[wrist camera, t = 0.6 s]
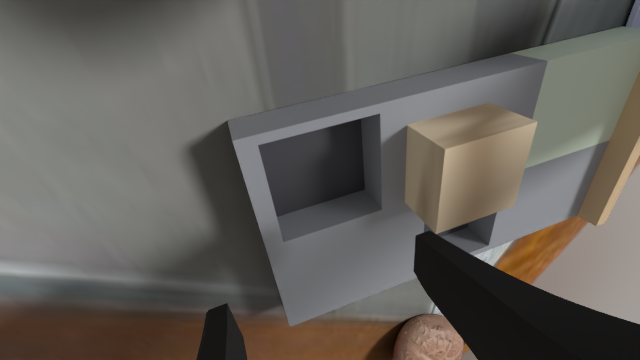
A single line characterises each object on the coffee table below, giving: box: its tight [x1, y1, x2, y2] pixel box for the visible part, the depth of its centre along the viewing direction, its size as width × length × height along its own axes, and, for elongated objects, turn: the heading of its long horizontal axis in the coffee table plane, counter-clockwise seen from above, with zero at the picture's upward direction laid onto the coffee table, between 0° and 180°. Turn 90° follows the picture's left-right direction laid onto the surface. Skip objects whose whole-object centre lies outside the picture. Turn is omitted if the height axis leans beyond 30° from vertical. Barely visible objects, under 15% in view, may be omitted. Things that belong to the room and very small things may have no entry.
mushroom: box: [392, 314, 464, 360], centre depth 32 cm, size 8×6×8 cm
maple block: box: [405, 103, 538, 234], centre depth 17 cm, size 5×5×3 cm
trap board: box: [228, 26, 640, 327], centre depth 20 cm, size 26×14×4 cm, turn 97°
